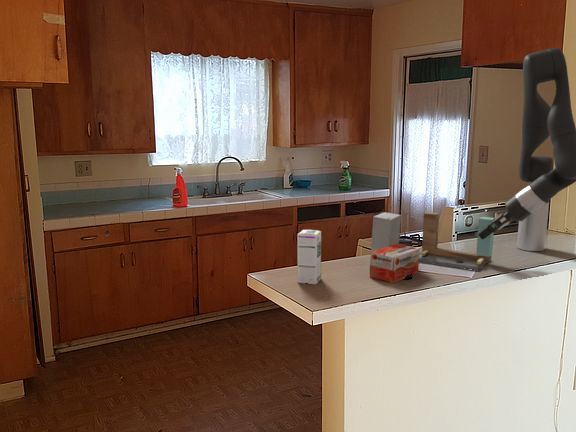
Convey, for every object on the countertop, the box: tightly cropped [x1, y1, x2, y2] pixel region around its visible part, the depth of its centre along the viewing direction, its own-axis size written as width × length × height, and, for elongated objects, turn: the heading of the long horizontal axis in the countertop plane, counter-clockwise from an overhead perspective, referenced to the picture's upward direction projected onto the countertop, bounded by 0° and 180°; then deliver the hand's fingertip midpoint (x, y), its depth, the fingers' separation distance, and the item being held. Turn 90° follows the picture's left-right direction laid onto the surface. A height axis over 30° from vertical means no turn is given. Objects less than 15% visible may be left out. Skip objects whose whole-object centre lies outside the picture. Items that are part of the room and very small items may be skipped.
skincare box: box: [370, 211, 402, 253], centre depth 174 cm, size 8×7×16 cm
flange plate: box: [419, 251, 488, 272], centre depth 178 cm, size 16×21×1 cm
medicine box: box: [369, 243, 421, 284], centre depth 161 cm, size 15×8×8 cm, turn 138°
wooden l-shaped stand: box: [421, 211, 493, 263], centre depth 176 cm, size 9×22×14 cm, turn 57°
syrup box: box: [296, 229, 322, 285], centre depth 154 cm, size 6×6×14 cm
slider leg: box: [475, 216, 496, 264], centre depth 171 cm, size 9×4×14 cm, turn 147°
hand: (483, 234), depth 173 cm, fingers open, 8 cm apart
